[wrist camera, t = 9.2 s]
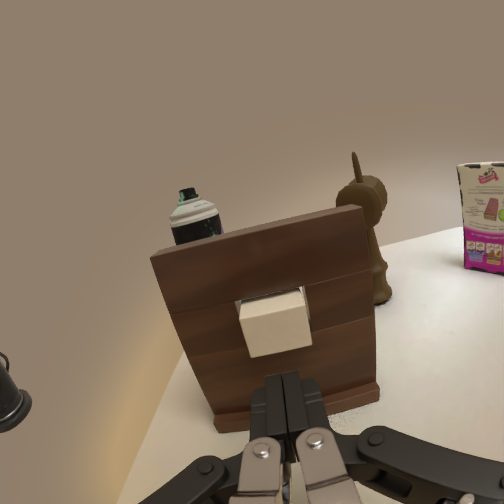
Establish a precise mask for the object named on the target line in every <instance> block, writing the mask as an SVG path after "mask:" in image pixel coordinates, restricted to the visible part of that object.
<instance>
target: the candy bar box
mask: <svg viewBox="0 0 504 504" xmlns="http://www.w3.org/2000/svg"><path fill="white" fill-rule="evenodd" d="M457 173H458V180H459V186H460V194H461V203H462V215H463V231H464V268H467V269H473V270H479V271H485V272H491V273H497V274H503V275H504V161H502V162H501V161H500V162H480V163H465V164H460V165H457Z"/></svg>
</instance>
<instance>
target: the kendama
mask: <svg viewBox="0 0 504 504" xmlns="http://www.w3.org/2000/svg"><path fill="white" fill-rule="evenodd" d="M352 161H353V168H354V173H355V179H354V180H353V181H351V182H350V183H349V185H347V186H345V187H344V188H343V189H342V190H341V191H339V193H338V196H337V198H336V207H340V206H345V205H349V204H354V205H357V206H361V207H362V208H363V214H364V220H365V227H366V233H367V241H368V248H369V256H370V265H371V268H370V269H371V273H372V284H373V296H374V304H376V303H381V302H384V301H386V300H388V299H389V298H390V297H391V295H392V289H391V287H390V286H389V285H388V283H387V281H386V270H387V268H388V265H387V262H385V261H384V260H383V258H382V256H381V253H380V250H379V247H378V243H377V239H376V236H375V232H374V228H373V227H374V226H375V225H376V224H378V223H379V221H380V218H381V216H382V211H383V210H384V209H385V207H386V204H387V192H386V189H385V186H384V185H383V183H382V182H381V181H380V180H379V179H378V178H375V177H373V176H362V173H361V169H360V165H359V161H358V158H357V155H356V154H355V152H352Z"/></svg>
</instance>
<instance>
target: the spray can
mask: <svg viewBox="0 0 504 504" xmlns="http://www.w3.org/2000/svg"><path fill="white" fill-rule="evenodd" d="M179 193H180V197H181V199H180V200H179V201H180V203H177V205H178V208H176V210H175V211H174V213H173V214H172V216H170V217H169V218H170V219H171V223H170V225H171V229H172V232H173V236H174V239H175V243H176V246H177V245H181V244H185V243H189V242H192V241H196V240H200V239H204V238H208V237H212V236H216V235H220V234H224V232H223V228H222V225H221V221H220V217H219V213H218V211H217V209H215V204H211V203H210V202H208V201H205V200H201V199H202V197H199V196H198V194H197V195H196V192H195V189H194V188H187V189H183V190H180V191H179ZM239 301H240V304H241V301H242V300H239Z"/></svg>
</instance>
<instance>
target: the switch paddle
mask: <svg viewBox="0 0 504 504" xmlns="http://www.w3.org/2000/svg"><path fill="white" fill-rule="evenodd" d="M239 321H240V324H241V328H242V331H243V334H244V337H245V340H246V344H247V347H248V350H249V353H250V356H251V358H253V357H258V356H264V355H269V354H274V353H278V352H283V351H288V350H292V349H297V348H301V347H305V346H309V345H312V339H311V333H310V328H309V322H308V317H307V311H306V306H305V303H304V300H303V297H302V295H301V292H300V289H299V288H294V289H289V290H285V291H281V292H276V293H272V294H268V295H263V296H259V297H254V298H250V299H245V300H242V301H241V308H240V316H239Z"/></svg>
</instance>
